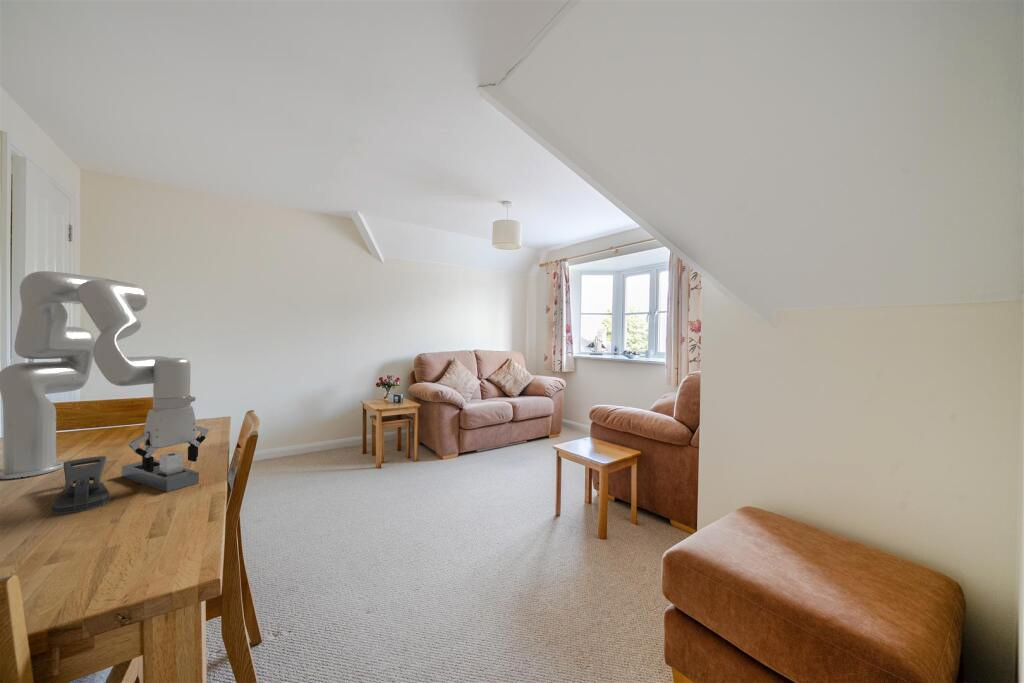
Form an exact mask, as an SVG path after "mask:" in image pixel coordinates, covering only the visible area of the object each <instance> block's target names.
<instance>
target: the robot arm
mask: <svg viewBox="0 0 1024 683" xmlns="http://www.w3.org/2000/svg"><path fill="white" fill-rule="evenodd" d="M19 297H20V302H21V303H20V304H21V311H20V316H19V321H18V326H17V331H16V335H15V340H14V352H15V353H16V355H17V356H19V357H20V358H23V359H27V360H53V359H55V360H58V359H60V361H35V362H32V361H31V362H21V363H14V364H10V365H7V366H6V367H4V368H2V369H1V370H0V396H1V401H2V402H1V403H2V415H3V416H2V417H3V418H2V423H3V424H2V426H3V427H2V430H3V431H2V435H3V436H2V450H3V451H2V469H0V480H13V478H14V479H22V478H21V477H23V478H28V476H29V477H35V476H39V475H43V474H48V473H52V472H55V471H58V470H60V469H62V468H64V462H65V461H63V460H62V461H61V460H57V410H56V406H55V404H54V403H53V402H52V401H51V400H50V399H49V398H48V397H47V396H46V395H49V394H58V393H67V392H73V391H77V390H80V389H82V388H83V387H85V385H86V384H87V382H88V380H89V378H90V373H91V370H92V369H91V368H92V365H93V361H94V362H95V364H96V366H97V368H98V370H99V371H100V372H101V374H102V375H103V377H104V378H105V380H107V381H108V382H109V383H110V384H112V385H114V386H117V387H128V386H129V387H131V386H141V385H149V384H150V385H151V384H153V385H152V387H153V388H152V392H153V396H152V409H149V410H148V412H147V414H146V420H145V426H144V432H143V433H144V434H142V435H140V436H138V437H136V438H134V439H133V440H132V441H131V440H130V442H129V443H128V447H129V448H130V449H131V450H132V451H133V453H135V454H136V455H139V456H140V457H141V460H142V461H141V462H142V468H143V470H144V471H146V472H149V473H150V472H153V471H154V459H155V458H154V456H152V455H153V454H154V453H155V452H156V451H157V450H158V449H163V448H167V447H171V446H177V445H182V444H187V443H188V445H189V446H188V447H187V461H189V462H197V460H198V457H199V447H200V446H201V444H202V443H203V442H204V440H206V436H208V433H209V432H210V429H209V428H207V427H202V426H199V425H197V422H196V415H195V411H194V407H193V406H191V404H192V402H195V401H196V396H191V361H190V359H188V358H184V357H167V356H159V355H158V356H157V355H156V356H155V355H151V356H131V357H130V356H127V357H126V356H125V355H124V353H123V352H122V351H121V349H120V347H119V346H118V342H117V341H120V340H122V339H126V338H129V337H130V336H132V335H134V334H135V333H137V332H138V331H140V329H141V327H142V321H140V318H139V317H138V315H137V312H140V311H142V310H144V309H145V308H146V306H147V304H148V297H147V294H146V292H145V290H144V289H142V288H141V287H140V285H137V284H134V283H127V282H124V281H119V280H114V279H110V278H104V277H98V276H97V277H96V276H90V275H84V274H82V275H81V274H76V273H68V272H61V271H47V270H44V271H42V270H40V271H34V272H31V273H29V274H28V275H26V276H25V277H24V278H23V279H22V281H21V283H20V285H19ZM62 303H65V304H73V305H74V304H75V305H82V306H83V308H84V309H85V311H86V313H87V314H88V316H89V317H90V319H91V321H92V322H93V324H94V325H95V327H96V328H97V330H98V331H99V333H100V334H99V335H98V336H97V338H96V339H95V337H94V335H93V334H92V333H91V332H90V331H89V330H88V329H86V328H84V327H77V326H75V327H74V326H67V321H68V318H69V317H68V315H69V314H68V311H67V309H66V308H65V306H64V304H62ZM197 432H199V435H198V436H197ZM142 443H143V444H144V446H145V447H144V448H141V445H140V444H142Z"/></svg>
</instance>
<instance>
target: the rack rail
mask: <svg viewBox="0 0 1024 683" xmlns="http://www.w3.org/2000/svg"><path fill="white" fill-rule="evenodd" d="M199 473H200V472H199V471H197V470H192V469H188V468H186V467H183V473H179V474H175V475H171V476H168V477H163V476H160V460H158V459H155V458H154V471H153V472H150V473H149V472H146V471H144V470H143V468H142V461H138V462H134V463H130V464H129V463H128V464H125V465H122V466H121V477H122V476H124V477H123V478H125V477H126V478H125V479H128V480H130V479H131V481H133V480H134V482H137V483H140V484H142V485H145V486H148V487H150V486H151V488H153V487H154V488H153V489H156V488H157V490H160V491H163V492H165V491H166V492H165V493H170V492H173V491H176V489H177V490H180V489H183V488H182V487H184V488H186V487H185V486H187V487H190V486H189V485H191V486H193V485H192V484H194V485H197V484H199V480H200V479H199V478H200V476H199ZM196 483H197V484H196ZM179 488H180V489H179ZM172 490H173V491H172ZM169 491H170V492H169Z"/></svg>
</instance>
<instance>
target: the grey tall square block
mask: <svg viewBox="0 0 1024 683" xmlns="http://www.w3.org/2000/svg"><path fill="white" fill-rule="evenodd" d="M159 461H160V476H163V477H168V476H171V475H175V474H179V473H183V468H184V454H183V453H182V452H178V451H174V452H169V453H165V454H160V455H159Z"/></svg>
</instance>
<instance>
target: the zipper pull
mask: <svg viewBox="0 0 1024 683" xmlns="http://www.w3.org/2000/svg"><path fill="white" fill-rule="evenodd" d="M106 461H107V456H106V455H103V456H102V455H101V456H91V457H84V458H83V457H82V458H77V459H71V460H67V461H63V462H64V466H63V471H64V480H65V488H64V489H63V490H61V492H60V494H59V495H58V496H57V497H56V498H55V500H54V501H53V502H52V504H51V513H52V514H53V513H54V515H56V514H57V516H63V515H69V514H77V513H80V512H85V511H90V510H94V509H97V508H100V507H99V506H101V507H103V505H104V506H105V505H107V504H108V503H110V491H109V490H108V488H107V487H106V486H105V484H104V482H101V476H102V473H103V471H104V466H105V464H106ZM90 481H93V482H90ZM74 484H75V486H73V485H74ZM107 502H108V503H107ZM96 507H97V508H96ZM93 508H94V509H93ZM89 509H90V510H89Z"/></svg>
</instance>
